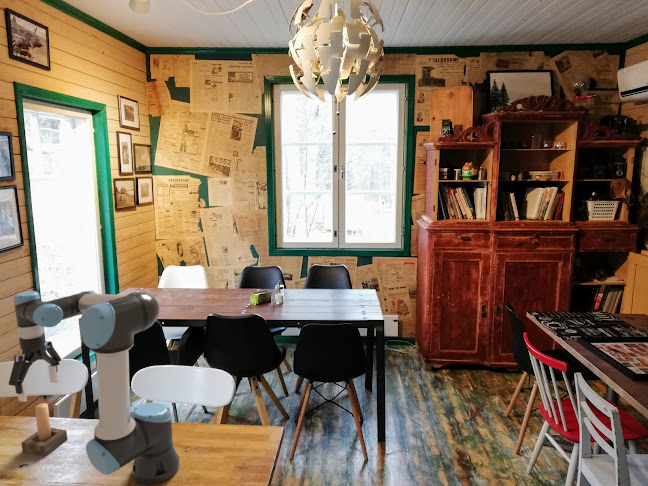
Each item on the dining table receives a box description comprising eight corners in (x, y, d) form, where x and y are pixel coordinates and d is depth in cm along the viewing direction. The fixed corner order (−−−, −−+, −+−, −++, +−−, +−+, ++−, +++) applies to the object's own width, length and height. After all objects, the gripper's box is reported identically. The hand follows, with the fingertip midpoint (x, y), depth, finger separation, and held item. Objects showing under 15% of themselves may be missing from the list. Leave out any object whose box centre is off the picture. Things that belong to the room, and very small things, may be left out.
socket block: (67, 439, 172) (66, 430, 171) (46, 456, 162) (44, 446, 161) (45, 436, 174) (43, 426, 173) (22, 452, 164) (21, 442, 164)
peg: (54, 443, 170) (50, 404, 167) (46, 449, 166) (41, 409, 163) (45, 441, 171) (41, 402, 167) (37, 448, 167) (32, 408, 164)
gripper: (51, 322, 172) (57, 374, 176) (-10, 348, 149) (-1, 408, 153) (67, 323, 171) (73, 376, 175) (9, 350, 147) (17, 411, 151)
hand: (39, 391), depth 164 cm, fingers open, 13 cm apart
